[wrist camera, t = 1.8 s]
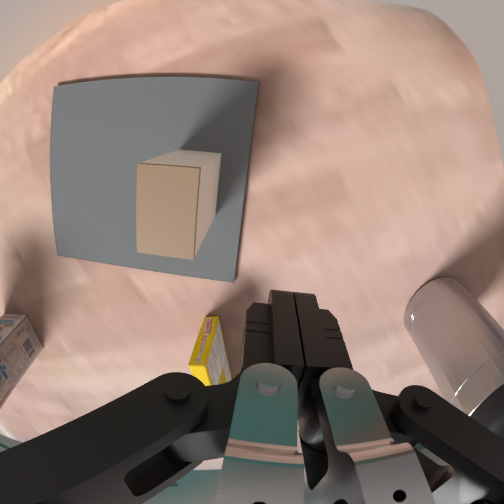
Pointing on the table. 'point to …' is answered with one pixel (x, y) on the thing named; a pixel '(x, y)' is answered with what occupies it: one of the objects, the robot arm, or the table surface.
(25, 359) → the juice carton
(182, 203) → the cream block
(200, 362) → the candy box
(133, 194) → the mat
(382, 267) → the table surface
